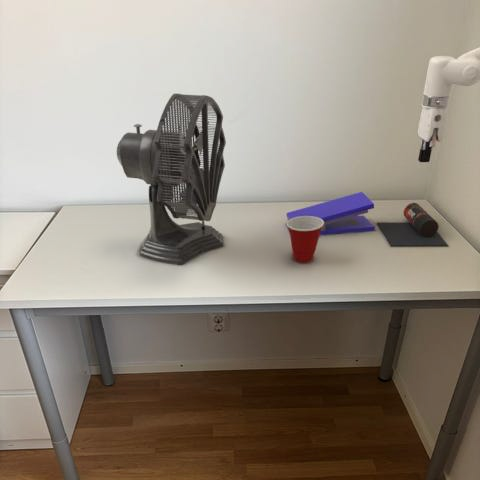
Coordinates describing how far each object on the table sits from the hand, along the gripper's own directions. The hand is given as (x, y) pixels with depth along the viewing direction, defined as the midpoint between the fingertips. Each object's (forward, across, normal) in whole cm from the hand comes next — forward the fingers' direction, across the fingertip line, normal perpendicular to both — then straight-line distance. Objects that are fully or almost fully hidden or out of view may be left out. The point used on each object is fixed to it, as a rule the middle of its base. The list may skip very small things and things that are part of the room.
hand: (423, 161), depth 167 cm
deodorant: (+17, 0, +1) cm, 17 cm away
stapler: (+20, -5, +30) cm, 37 cm away
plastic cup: (+20, -28, +42) cm, 55 cm away
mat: (+20, -12, +4) cm, 24 cm away
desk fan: (+20, -21, +81) cm, 86 cm away
